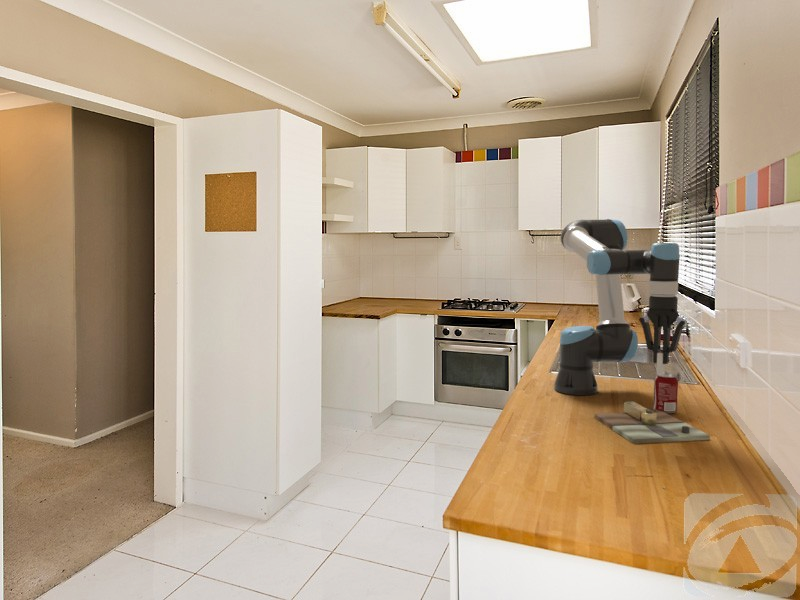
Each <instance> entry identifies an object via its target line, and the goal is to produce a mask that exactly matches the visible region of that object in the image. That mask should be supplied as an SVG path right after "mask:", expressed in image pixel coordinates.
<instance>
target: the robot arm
mask: <svg viewBox="0 0 800 600" xmlns="http://www.w3.org/2000/svg"><path fill="white" fill-rule="evenodd" d="M560 242H561V245H562V246H563V247H564V249H566V250H567V251H568V252H571V253H574V254H577V255H578V256H579V257H581V259H583V260H584V261H586V268H587V270H588V273H589V274H591V275H595V282H596V283H595V285H596V292H597V293H596V294H597V302H598V303H597V304H598V315H599V322H598V323H597V324H596V325H595V328H594V326H592V325H577V326H569V327H566V328H564V329H563V330H562V331H561V332H560V336H559V337H560V338H559V369H558V372H557V375H556V378H555V379H554V382H553V383H554V385H553V386H554V387H553V388H554V390H555V391H556V392H559V393H561V394H565V395H573V396H590V395H595V394H597V393H598V390H599V389H598V387H599V386H598V383H597V380H596V375H595V373H594V363H612V362H613V363H621V362H622V363H623V362H630V361H632V360H633V359H634V358H635V357H636V354H637V351H638V347H639V346H638V345H639V337H638V334H637V331H636V330H634V329H631V326H630V322H628V321H626V319H625V309H624V300H623V289H622V279H621V275H649V294H650V296H649V298H648V299H649V300H648V311H647V314H646V315H645V316H641V317H639V318H638V321H639V322H640V324H641V326H642V330H643V334H644V339H645V345H646V349H648V350H649V351H651V352H653V363H655V364H656V376H657V375H663V374H665V373H666V365H667V364H669V362H670V361H669V360H670V353H674V352H675V351H677V348H678V344H679V342H680V339H681V335H682V332H683V328H684V327H685V326H686V325H687V323H688V320H686V319H683V318H682V317H680V315H679V314H680V313H679V312H678V299H679V298H678V297H677V295H678V294H679V272H680V271H679V270H680V269H679V268H680V258H681V255H680V246H679V244H678V243H677V242H658V243H656V242H655V243H652V244H651V247H650V249H628V250H627V249H626V247H627V245H628V232H627V228H626V226H625V225H624V223H623V222H622V221H621V220H619V219H609V218H607V219H578V220H574V221H571V222H570V223H569V224H567V225H566V226H565V227H564V228H563V229H562V231H561V234H560ZM650 322H651V324H652V325H653V335H652V332H651V331H652V330H651V327H650ZM675 322H676V323H675ZM674 323H675V325H676V327H675V329H674V332H673V337H672V339H671V330H672V326H673V324H674ZM662 331H663V332H662ZM662 333H663V334H662ZM661 338H662V339H661ZM661 340H662V349H661ZM661 350H662V351H661Z"/></svg>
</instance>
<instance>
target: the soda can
mask: <svg viewBox="0 0 800 600" xmlns="http://www.w3.org/2000/svg"><path fill="white" fill-rule="evenodd" d="M678 391H679V380H678V379H677V375H676V374H674V373H671V372H665V374H663V375H656V376H655V377H654V379H653V399H652V400H653V405H652V408H653V409H652V410H653V411H663V412H665V413H667V414H669V415H672V414H673V413H677V411H678Z"/></svg>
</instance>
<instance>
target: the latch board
mask: <svg viewBox="0 0 800 600" xmlns="http://www.w3.org/2000/svg"><path fill="white" fill-rule="evenodd" d="M653 411H654V412H656V413H657V416H656V424H655V425H647V424H643V423H642V422H641V421H640V420H638V419H636V418H635V417H633V416H631V415H629V414H628V413H626V412H607V413H606V412H605V413H603V412H602V413H594V419H596V420H597V421H599V422H600V423H602V424H603V425H605V426H606V427H607V428H609V429H611V430H613V432H616V433H617V434H618V435H620V437H623V438H624V439H626V440H627V441H629V442H630V443H632V444H649V443H666V442H667V443H668V442H669V443H670V442H687V441H688V442H689V441H691V442H693V441H707V440H708V441H709V440H710V439H711V438H710V437H711V436H710V434H707V433H706V432H704V431H702V430H700V429H698V428H696V427H694V426H692V425H690V424H688V423H687V422H685V421H682V420H681V419H678V418H676V417H674V416H673V415H672V414H667V413H665V412H663V411H656V410H653Z"/></svg>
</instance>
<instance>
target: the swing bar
mask: <svg viewBox="0 0 800 600" xmlns="http://www.w3.org/2000/svg"><path fill="white" fill-rule="evenodd" d="M654 411H655V410H653V409H651V408H647V407H644V406H642V405H641V404H639V403H638V402H636V401H624V402H623V413H625V412H626V413H628V414H629V415H631V416H633V417H635V418H636V419H638V420H640V421H641V422H642V423H643V424H647V425H655V424H656V416H657V413H656V412H654Z"/></svg>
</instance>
